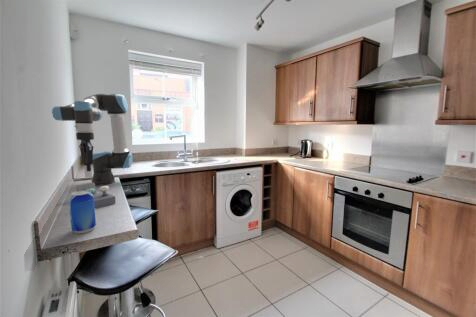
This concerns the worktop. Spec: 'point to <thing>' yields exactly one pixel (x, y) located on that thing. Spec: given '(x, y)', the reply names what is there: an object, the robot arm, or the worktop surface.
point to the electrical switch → (86, 187)
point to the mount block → (103, 200)
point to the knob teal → (91, 190)
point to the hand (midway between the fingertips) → (88, 177)
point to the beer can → (82, 211)
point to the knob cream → (104, 190)
